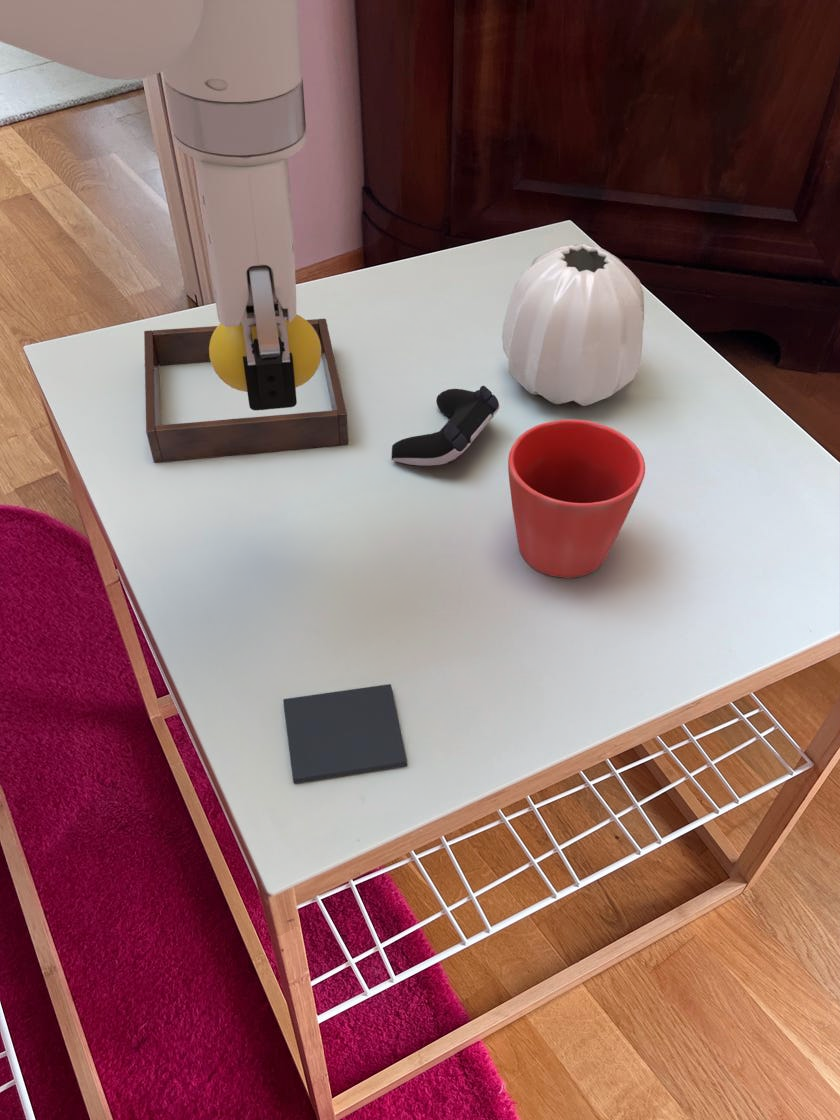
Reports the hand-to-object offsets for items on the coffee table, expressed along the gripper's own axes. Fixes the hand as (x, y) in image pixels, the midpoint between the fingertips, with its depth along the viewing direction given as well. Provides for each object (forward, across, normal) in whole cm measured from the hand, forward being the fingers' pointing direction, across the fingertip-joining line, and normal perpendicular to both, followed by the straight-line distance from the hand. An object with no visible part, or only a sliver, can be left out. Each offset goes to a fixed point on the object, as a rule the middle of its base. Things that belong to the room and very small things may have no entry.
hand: (268, 378), depth 69 cm
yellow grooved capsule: (0, 0, 0) cm, 0 cm away
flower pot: (+17, +4, +23) cm, 29 cm away
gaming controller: (+17, -12, +16) cm, 26 cm away
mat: (+17, +19, +2) cm, 26 cm away
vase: (+17, -19, +30) cm, 40 cm away
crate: (+17, -21, -2) cm, 27 cm away
